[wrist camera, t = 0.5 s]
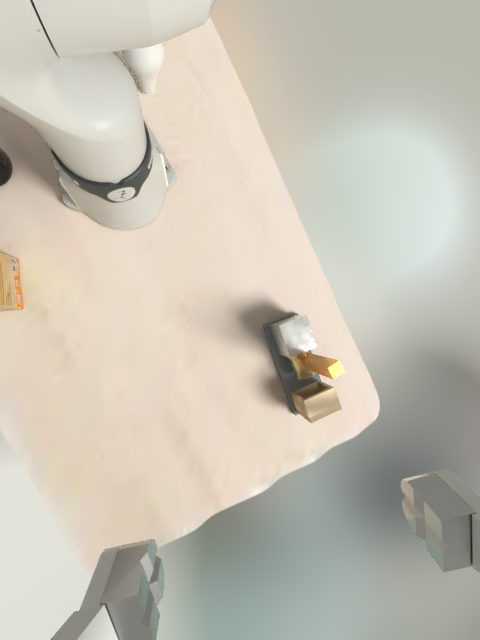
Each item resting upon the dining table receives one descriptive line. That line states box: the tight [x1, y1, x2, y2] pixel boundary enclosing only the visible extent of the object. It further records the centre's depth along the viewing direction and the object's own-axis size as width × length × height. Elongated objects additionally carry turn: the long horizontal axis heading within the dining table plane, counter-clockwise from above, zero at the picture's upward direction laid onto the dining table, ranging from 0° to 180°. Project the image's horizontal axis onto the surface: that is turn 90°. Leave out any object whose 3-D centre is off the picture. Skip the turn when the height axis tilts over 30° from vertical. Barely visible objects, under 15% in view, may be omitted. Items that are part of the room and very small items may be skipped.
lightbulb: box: [122, 42, 165, 94], centre depth 46 cm, size 6×6×11 cm
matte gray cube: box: [269, 315, 317, 358], centre depth 52 cm, size 6×5×5 cm
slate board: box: [263, 314, 321, 415], centre depth 56 cm, size 18×7×1 cm, turn 20°
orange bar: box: [289, 351, 345, 380], centre depth 47 cm, size 10×4×14 cm, turn 20°
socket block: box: [291, 381, 342, 423], centre depth 53 cm, size 4×6×6 cm, turn 110°
